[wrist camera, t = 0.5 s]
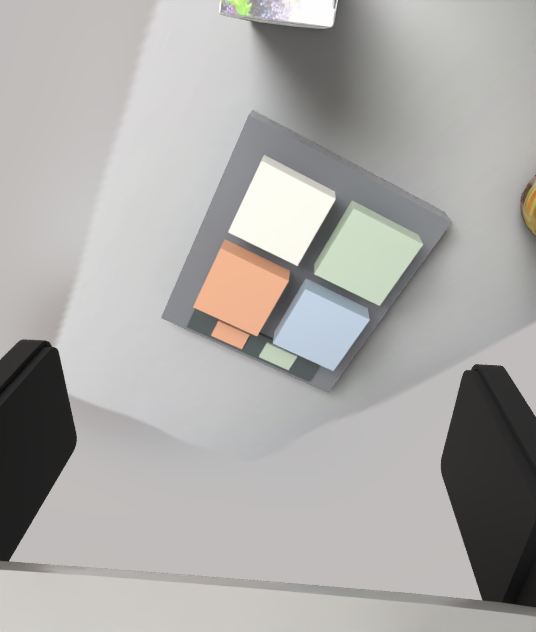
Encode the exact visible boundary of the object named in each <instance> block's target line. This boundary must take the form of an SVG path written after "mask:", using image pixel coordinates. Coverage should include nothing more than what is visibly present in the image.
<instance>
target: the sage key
mask: <svg viewBox="0 0 536 632" xmlns="http://www.w3.org/2000/svg"><path fill="white" fill-rule="evenodd" d="M422 246H423V243H422V241H421V239H420V237H419V235H418V234H416V233H414V232H412V231H410V230H408V229H406V228H404V227H402V226H400V225H399V224H397V223H395V222H393V221H391V220H389V219H387V218H385V217H383V216H381V215H379V214H377V213H375V212H373V211H372V210H370V209H368V208H366V207H364V206H362V205H360V204H358V203H356V202H354V201H351V203H350V205H349V206H348V208H347V210H346V211H345V213H344V215H343V216H342V218H341V220H340V221H339V223H338V225H337V226H336V228H335V230H334V232H333V233H332V235H331V237H330V238H329V240H328V242H327V243H326V245H325V247H324V248H323V250H322V252H321V254H320V255H319V257H318V259H317V260H316V262H315V264H314V274H315V275H317V276H319V277H321V278H323V279H325V280H327V281H329V282H331V283H333V284H336V285H338V286H340V287H342V288H344V289H346V290H348V291H350V292H352V293H354V294H356V295H358V296H360V297H362V298H364V299H366V300H368V301H371V302H373V303H375V304H377V305H379V306H380V305H381V303H382V302H383V301H384V299H385V298H386V296H387V295H388V293H389V292H390V291H391V289H392V288H393V286H394V285H395V284H396V282H397V281H398V279H399V278H400V277H401V275H402V274H403V272H404V271H405V270H406V268H407V267H408V265H409V264H410V262H411V261H412V260H413V258H414V257H415V255H416V254H417V253H418V251H419V250H420V248H421V247H422Z"/></svg>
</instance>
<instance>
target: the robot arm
mask: <svg viewBox="0 0 536 632" xmlns="http://www.w3.org/2000/svg"><path fill="white" fill-rule="evenodd" d="M76 441H77V436H76V430H75V426H74V422H73V416H72V412H71V408H70V402H69V398H68V393H67V389H66V384H65V379H64V375H63V370H62V365H61V361H60V356H59V352H58V350H57V348H55V347H52V346H51V344H50V343H49V342H47V341H42V340H20V341H19V342H18V343H17V344H16V345H15V346H14V347H13V348H12V349H11V350H10V351H9V352H8V353H7V354H6V355H5V356H4V357H3V358H2V359H1V360H0V632H536V417H535V415H534V414H533V412H532V410H531V409H530V407H529V406H528V404H527V403H526V401H525V399H524V398H523V396H522V395H521V393H520V392H519V390H518V388H517V387H516V385H515V384H514V382H513V381H512V379H511V377H510V376H509V374H508V373H507V371H506V370H505V368H504V367H503V366H497V365H479V364H476V365H474V366H473V367H472V369H471V370H466V371H464V373H463V376H462V380H461V383H460V388H459V391H458V395H457V400H456V403H455V407H454V411H453V415H452V419H451V423H450V427H449V431H448V435H447V439H446V442H445V446H444V450H443V454H442V458H441V473H442V477H443V480H444V483H445V486H446V489H447V492H448V495H449V498H450V501H451V505H452V508H453V511H454V514H455V517H456V519H457V523H458V526H459V529H460V532H461V535H462V538H463V542H464V545H465V548H466V551H467V554H468V557H469V560H470V563H471V566H472V569H473V572H474V576H475V578H476V582H477V585H478V588H479V591H480V594H481V597H482V600H483V601H482V600H472V599H462V598H452V597H442V596H432V595H423V594H412V593H401V592H389V591H377V590H365V589H353V588H341V587H330V586H318V585H306V584H295V583H294V584H293V583H282V582H270V581H258V580H257V581H256V580H244V579H233V578H220V577H207V576H194V575H181V574H169V573H156V572H143V571H131V570H117V569H103V568H89V567H76V566H63V565H48V564H35V563H21V562H9V560H10V558H11V556H12V554H13V553H14V551H15V550H16V548H17V546H18V545H19V543H20V541H21V539H22V538H23V536H24V534H25V533H26V531H27V529H28V528H29V526H30V524H31V523H32V521H33V519H34V517H35V516H36V514H37V512H38V511H39V509H40V507H41V505H42V504H43V502H44V500H45V499H46V497H47V495H48V494H49V492H50V490H51V488H52V487H53V485H54V483H55V482H56V480H57V478H58V477H59V475H60V473H61V471H62V470H63V468H64V466H65V465H66V463H67V461H68V459H69V458H70V456H71V455H72V453H73V451H74V449H75V446H76Z"/></svg>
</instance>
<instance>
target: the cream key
mask: <svg viewBox="0 0 536 632" xmlns="http://www.w3.org/2000/svg"><path fill="white" fill-rule="evenodd" d="M335 200H336V197H335V191H333V190H331V189H329V188H327V187H325V186H323V185H321V184H320V183H318V182H316V181H314V180H312V179H310V178H308V177H306V176H304V175H302V174H300V173H298V172H296V171H294V170H293V169H291V168H289V167H287V166H285V165H283V164H281V163H279V162H277V161H275V160H273V159H271V158H269V157H267V156H266V155H264V156H263V158H262V160H261V162H260V165H259V167H258V169H257V171H256V173H255V175H254V177H253V180H252V182H251V184H250V186H249V188H248V190H247V192H246V195H245V197H244V199H243V201H242V203H241V205H240V207H239V210H238V212H237V214H236V216H235V218H234V220H233V222H232V225H231V227H230V229H229V231H228V233H231V234H233V235H235V236H237V237H239V238H241V239H243V240H245V241H247V242H249V243H251V244H253V245H255V246H257V247H259V248H261V249H263V250H266V251H268V252H270V253H272V254H274V255H276V256H278V257H280V258H282V259H284V260H286V261H288V262H290V263H292V264H294V265H296V266H298V264H299V262H300V261H301V259H302V257H303V255H304V254H305V252H306V250H307V248H308V247H309V245H310V243H311V241H312V240H313V238H314V236H315V234H316V233H317V231H318V229H319V227H320V226H321V224H322V222H323V221H324V219H325V217H326V215H327V214H328V212H329V210H330V208H331V207H332V205H333V203H334V201H335Z"/></svg>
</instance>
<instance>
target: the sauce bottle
mask: <svg viewBox="0 0 536 632" xmlns="http://www.w3.org/2000/svg"><path fill="white" fill-rule="evenodd" d="M521 209H522V216H523V219H524V221H525V223H526V225H527V226H528V228H529V229H530V230H531V232H532V233H533V234H534V235H535V236H536V175H535V176H534V178H533V179H532V180H531V181H530V182H529V184H528V185H527V187H526V189H525V190H524V192H523V193H522V199H521Z"/></svg>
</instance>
